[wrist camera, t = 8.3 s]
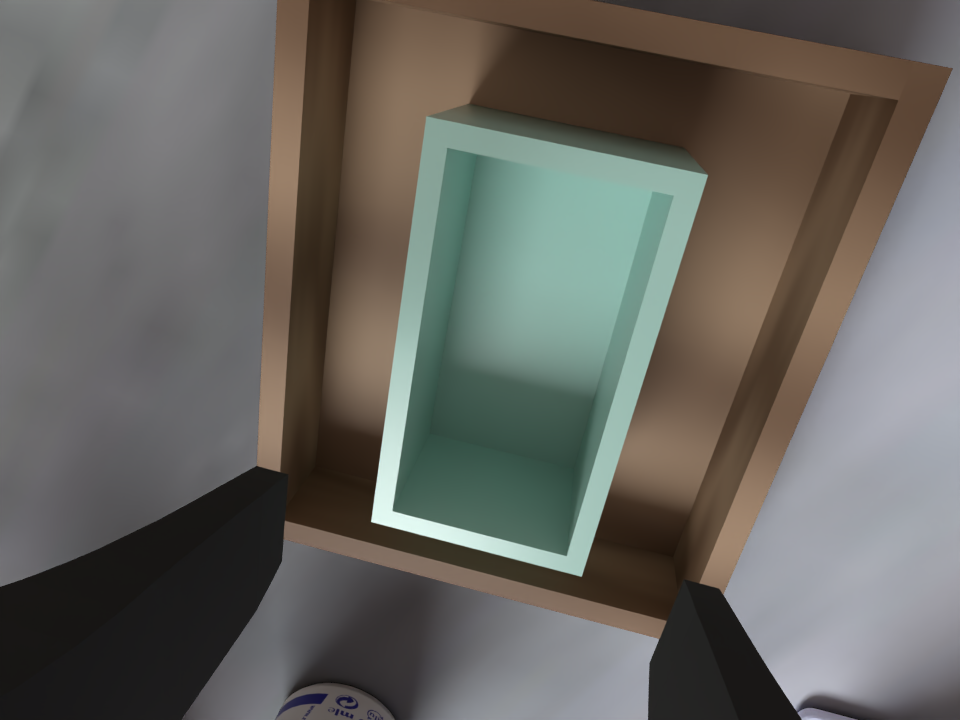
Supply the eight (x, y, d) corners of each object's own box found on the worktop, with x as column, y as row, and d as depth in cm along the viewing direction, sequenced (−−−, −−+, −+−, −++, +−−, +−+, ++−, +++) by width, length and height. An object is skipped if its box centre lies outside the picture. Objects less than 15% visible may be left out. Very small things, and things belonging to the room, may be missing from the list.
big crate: (686, 567, 22) (699, 649, 19) (301, 468, 24) (253, 531, 20) (884, 66, 16) (952, 68, 13) (340, -37, 17) (279, -59, 14)
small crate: (586, 477, 21) (582, 576, 17) (415, 435, 22) (371, 521, 17) (683, 147, 17) (708, 175, 13) (468, 103, 17) (426, 116, 13)
